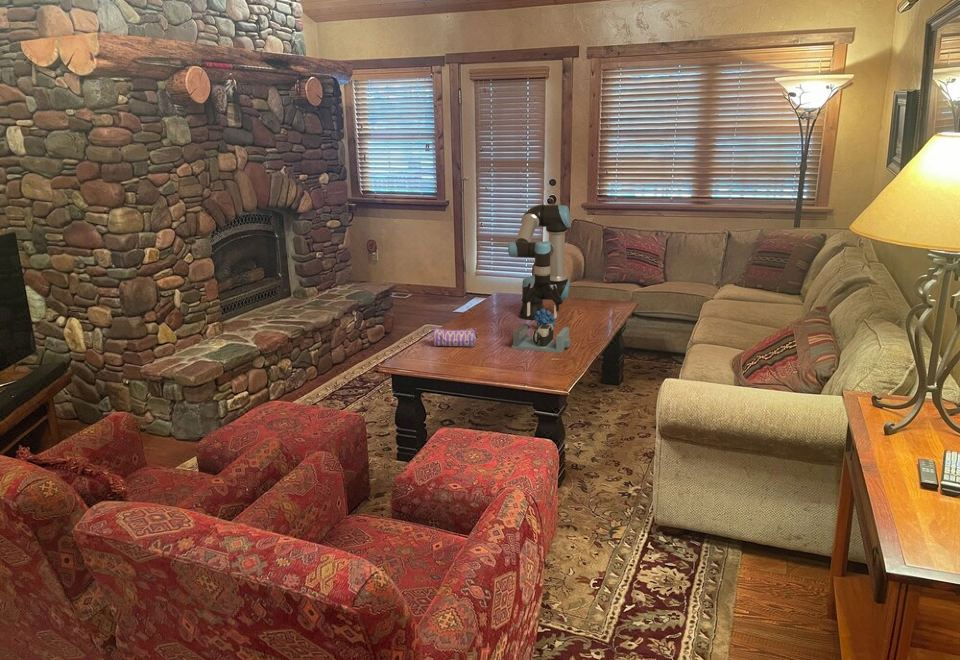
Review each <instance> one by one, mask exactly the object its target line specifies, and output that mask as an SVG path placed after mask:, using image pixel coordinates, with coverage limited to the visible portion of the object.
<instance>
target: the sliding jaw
mask: <svg viewBox="0 0 960 660" xmlns="http://www.w3.org/2000/svg"><path fill="white" fill-rule="evenodd" d="M530 327H531V326H529V323H522V324H520V326H518V327H517V328H516V329H515V330H514V331H513V344H514V345H516V346H519V345H520V344H521V343H522V342H523V341H524V340H525V339H526V338H527V337H529V335H528V333H529V330H530Z"/></svg>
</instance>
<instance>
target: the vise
mask: <svg viewBox="0 0 960 660" xmlns="http://www.w3.org/2000/svg"><path fill="white" fill-rule="evenodd" d="M570 345H571V338H570V327H568V326H565V327H563V328H562V329H561V330H560V331H559V333H557V335H556V336H555V339H554V338H553V340H552V342H551V343H550V344H549V345H548V346H547V347H546V348H540V347H539V343H538V342H533V340H532V337H529V336H528V337H527V338H526V339H525V340H524V341H523V342H522V343H521V344H520V345H519V346H516V345H514V343H513V344H511V349H514V350H515V349H516V350H522V351H523V350H525V351H534V352H535V351H537V352H543V353H544V352H545V353H553V352H554V353H555V354H562V353H563V352H564V350H565V349H566V348H569V347H570Z"/></svg>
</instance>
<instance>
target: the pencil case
mask: <svg viewBox="0 0 960 660" xmlns="http://www.w3.org/2000/svg"><path fill="white" fill-rule="evenodd" d="M432 329H433V344H434V346H437V347H438V346H440V347H441V346H442V347H443V346H445V347H470V348H471V347H475V344H476V342H477V341H476V340H477V338H478V333H476V330H477V327H475V328H473V327H471V328H467V329H466V328H465V329H445V328H439V327H435V326H432Z"/></svg>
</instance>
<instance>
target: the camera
mask: <svg viewBox="0 0 960 660" xmlns="http://www.w3.org/2000/svg"><path fill="white" fill-rule="evenodd" d="M553 339H554V327H553V325H552V324H547V326H546V325H543V324H542V325H541V326H540V327H538V329H537V330H533V332H532V340H533V342H538V343H539V347H540V348H546V347H547V346H548V345H549V344H550V343H551V342H552V340H553Z"/></svg>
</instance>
